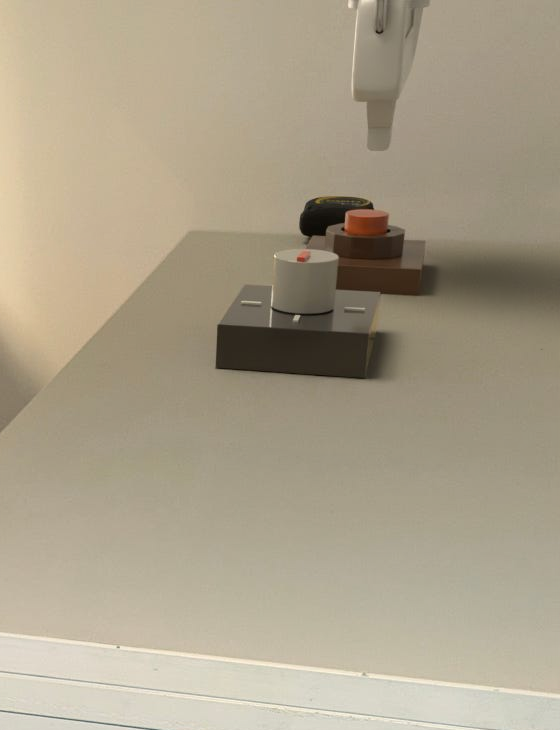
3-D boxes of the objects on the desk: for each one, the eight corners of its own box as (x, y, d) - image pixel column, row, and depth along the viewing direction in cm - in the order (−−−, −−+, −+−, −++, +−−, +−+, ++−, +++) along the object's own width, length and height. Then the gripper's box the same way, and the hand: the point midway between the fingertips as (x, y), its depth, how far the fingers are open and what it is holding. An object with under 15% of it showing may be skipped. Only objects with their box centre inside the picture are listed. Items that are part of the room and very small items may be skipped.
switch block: (310, 260, 119) (313, 214, 117) (422, 265, 117) (428, 219, 115) (294, 289, 109) (298, 240, 107) (417, 296, 107) (423, 246, 105)
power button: (345, 229, 113) (347, 208, 112) (388, 231, 112) (390, 210, 111) (342, 237, 110) (343, 215, 109) (385, 239, 109) (387, 217, 108)
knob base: (242, 324, 99) (244, 282, 97) (376, 332, 97) (380, 289, 95) (215, 368, 89) (217, 321, 87) (364, 378, 86) (369, 331, 85)
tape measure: (295, 245, 125) (298, 205, 123) (308, 232, 131) (311, 193, 129) (367, 250, 123) (371, 209, 121) (377, 236, 129) (381, 196, 127)
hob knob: (277, 297, 94) (281, 242, 92) (339, 301, 92) (344, 246, 91) (264, 311, 90) (268, 255, 88) (328, 316, 89) (333, 259, 87)
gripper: (429, -37, 92) (412, 169, 98) (437, -47, 109) (422, 130, 115) (338, -35, 93) (327, 169, 100) (360, -44, 110) (350, 130, 117)
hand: (378, 148), depth 108 cm, fingers closed
